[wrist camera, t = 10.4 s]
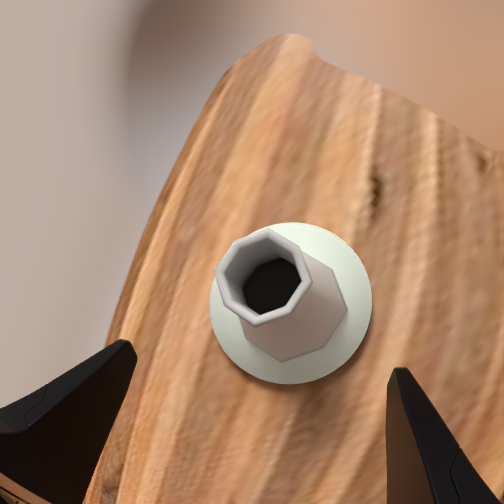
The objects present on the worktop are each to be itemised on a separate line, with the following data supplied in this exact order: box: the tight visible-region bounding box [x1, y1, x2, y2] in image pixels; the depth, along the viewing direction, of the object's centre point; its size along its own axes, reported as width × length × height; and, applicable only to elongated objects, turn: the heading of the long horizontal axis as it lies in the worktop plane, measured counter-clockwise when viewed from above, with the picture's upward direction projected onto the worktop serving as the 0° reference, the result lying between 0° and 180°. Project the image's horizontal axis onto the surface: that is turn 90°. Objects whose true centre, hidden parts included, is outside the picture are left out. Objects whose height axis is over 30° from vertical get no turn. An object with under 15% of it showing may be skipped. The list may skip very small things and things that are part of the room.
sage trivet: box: [210, 223, 372, 384], centre depth 20 cm, size 11×11×1 cm
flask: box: [214, 228, 348, 363], centre depth 14 cm, size 7×7×10 cm
